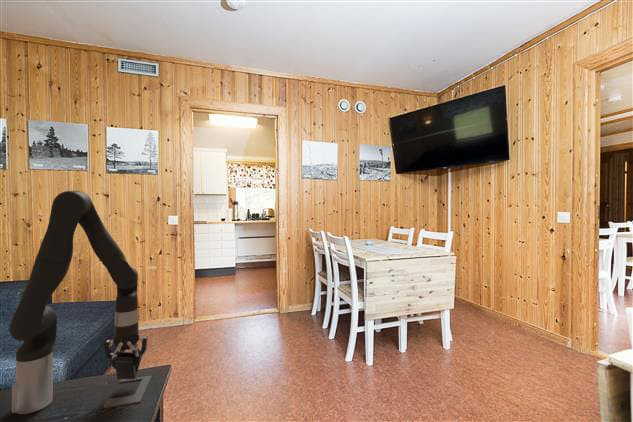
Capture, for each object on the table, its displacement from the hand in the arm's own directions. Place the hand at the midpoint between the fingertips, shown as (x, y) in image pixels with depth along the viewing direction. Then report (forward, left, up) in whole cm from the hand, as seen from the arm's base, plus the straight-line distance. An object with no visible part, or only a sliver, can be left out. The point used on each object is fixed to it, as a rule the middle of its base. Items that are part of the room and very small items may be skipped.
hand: (126, 366), depth 112 cm
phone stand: (0, +5, -3) cm, 6 cm away
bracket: (+1, -1, -9) cm, 9 cm away
